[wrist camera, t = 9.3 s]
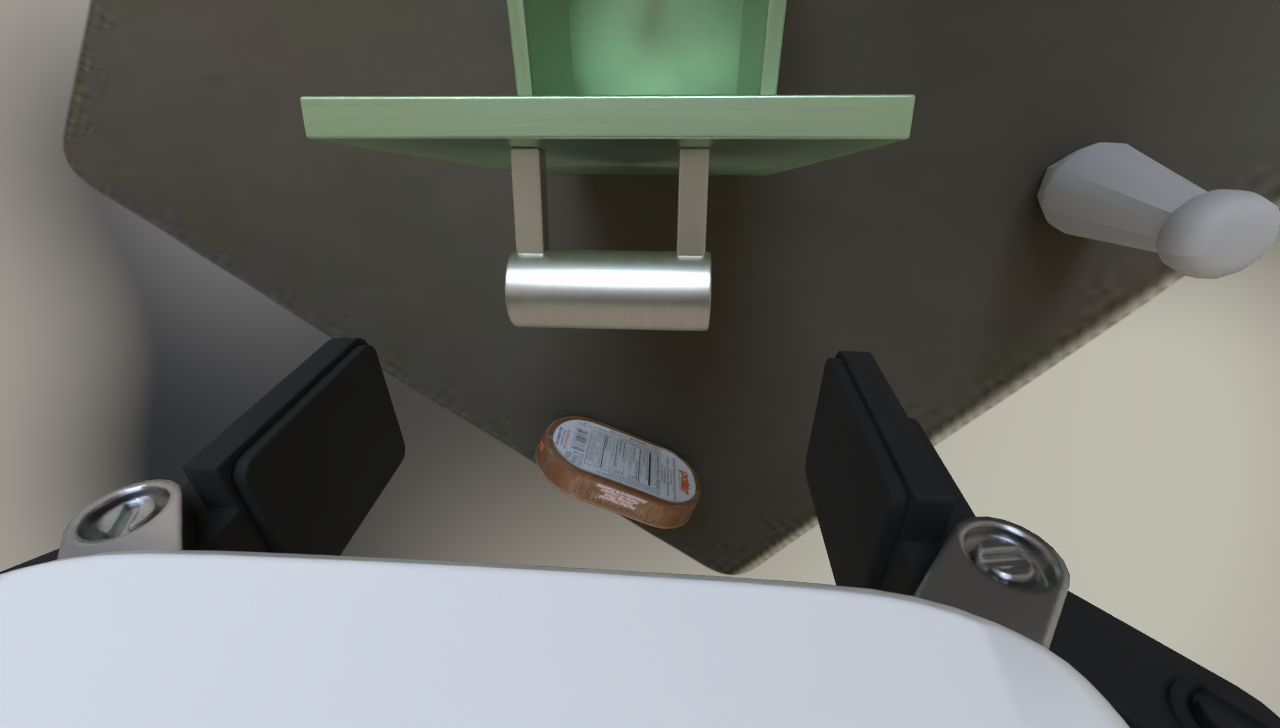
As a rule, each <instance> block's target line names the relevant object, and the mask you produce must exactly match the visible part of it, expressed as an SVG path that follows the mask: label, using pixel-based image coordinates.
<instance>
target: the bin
mask: <svg viewBox="0 0 1280 728" xmlns="http://www.w3.org/2000/svg"><path fill="white" fill-rule="evenodd" d="M786 5H787V0H507V9H508V18H509V27H510V36H511V45H512V54H513V62H514V71H515V80H516V89H517V96H564V95H777V87H778V78H779V69H780V60H781V51H782V41H783V32H784V23H785V14H786Z"/></svg>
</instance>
